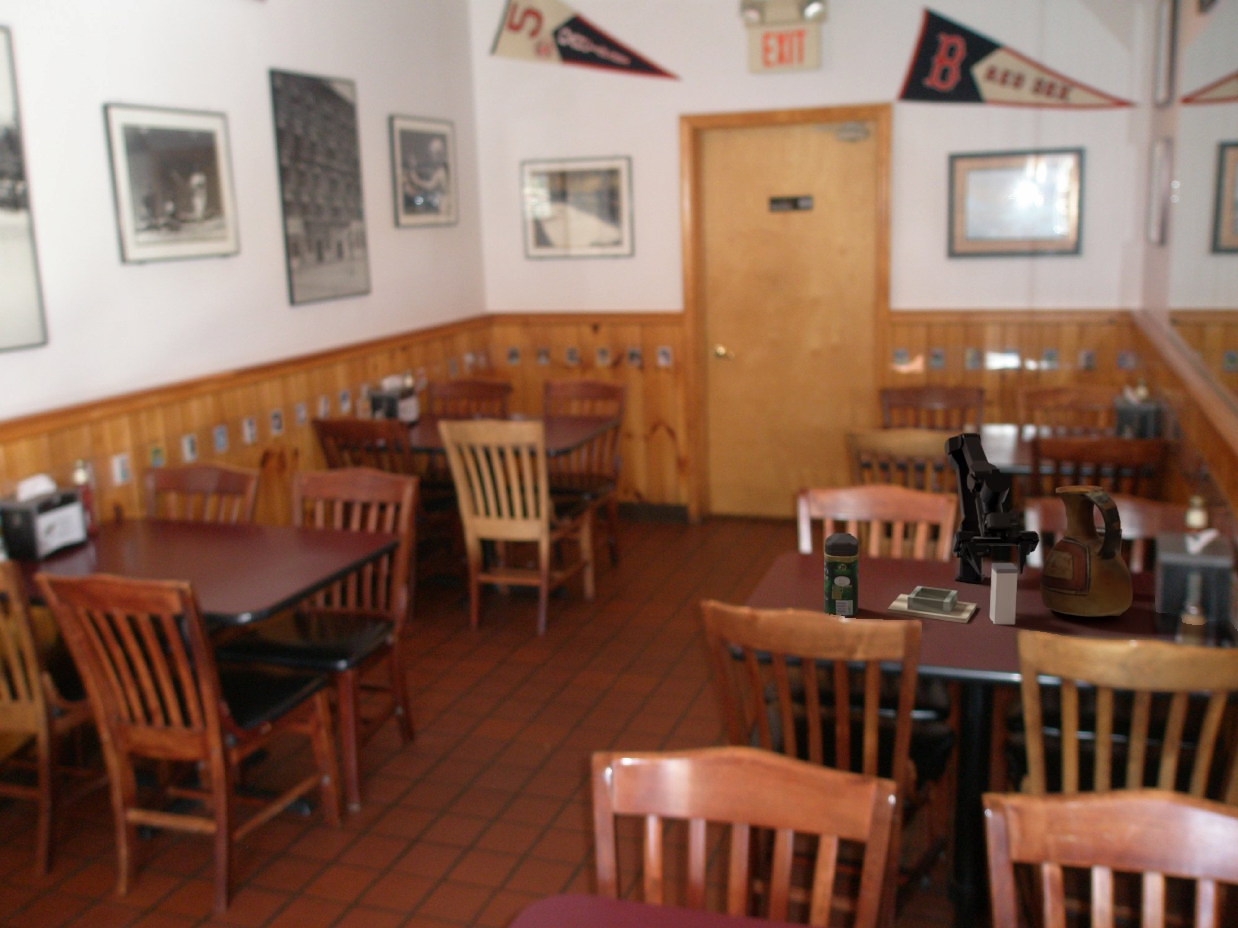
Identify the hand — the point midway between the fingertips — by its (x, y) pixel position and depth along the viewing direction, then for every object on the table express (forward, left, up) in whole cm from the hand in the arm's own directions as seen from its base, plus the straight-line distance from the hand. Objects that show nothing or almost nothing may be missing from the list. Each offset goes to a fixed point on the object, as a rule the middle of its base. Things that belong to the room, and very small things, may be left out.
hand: (1000, 573), depth 260 cm
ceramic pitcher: (-10, +17, -10) cm, 23 cm away
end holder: (+2, -15, -10) cm, 18 cm away
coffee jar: (+12, -34, -10) cm, 37 cm away
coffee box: (-27, +18, -10) cm, 34 cm away
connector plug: (+3, +1, -10) cm, 11 cm away
